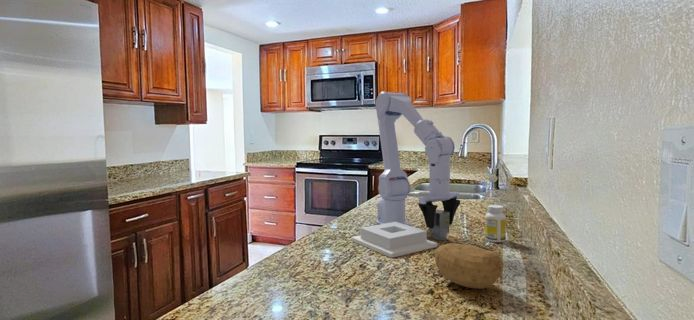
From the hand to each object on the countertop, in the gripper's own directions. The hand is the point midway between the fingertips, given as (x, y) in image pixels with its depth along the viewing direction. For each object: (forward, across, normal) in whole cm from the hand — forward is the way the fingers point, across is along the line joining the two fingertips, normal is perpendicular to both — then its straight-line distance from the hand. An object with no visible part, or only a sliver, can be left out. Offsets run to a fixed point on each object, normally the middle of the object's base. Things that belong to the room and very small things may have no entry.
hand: (439, 225), depth 106 cm
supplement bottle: (+4, +12, -10) cm, 16 cm away
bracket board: (+4, -14, +4) cm, 15 cm away
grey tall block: (+4, 0, 0) cm, 4 cm away
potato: (+4, -20, -26) cm, 33 cm away
